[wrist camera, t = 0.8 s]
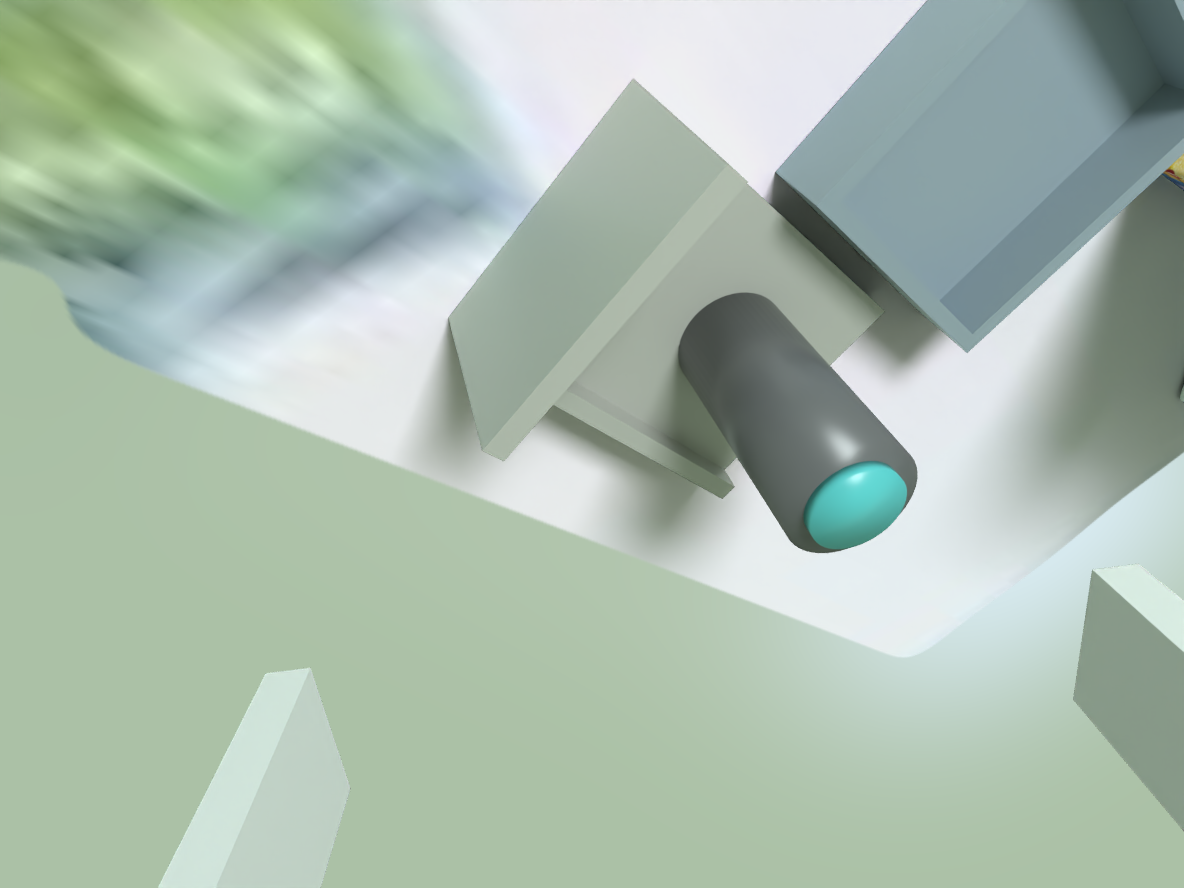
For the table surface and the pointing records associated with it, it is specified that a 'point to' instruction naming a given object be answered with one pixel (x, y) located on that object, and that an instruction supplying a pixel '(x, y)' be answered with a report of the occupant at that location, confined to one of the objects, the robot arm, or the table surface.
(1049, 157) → the tray
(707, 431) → the bay
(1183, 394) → the hard drive box
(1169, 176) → the beverage box
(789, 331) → the bottle
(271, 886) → the robot arm
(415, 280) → the table surface
